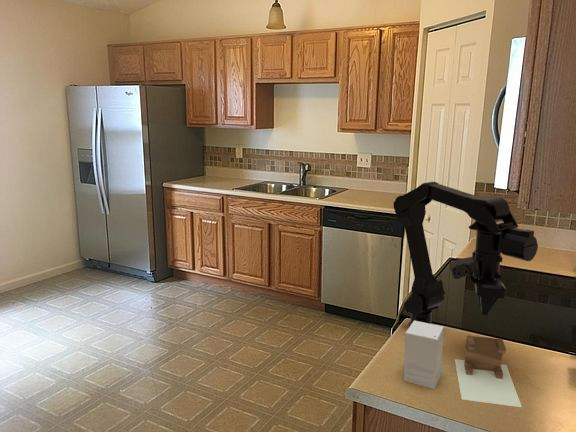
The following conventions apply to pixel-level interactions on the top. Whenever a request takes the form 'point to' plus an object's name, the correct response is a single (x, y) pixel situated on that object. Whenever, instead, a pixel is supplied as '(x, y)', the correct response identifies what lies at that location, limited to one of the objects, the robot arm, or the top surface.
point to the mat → (487, 386)
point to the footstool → (484, 355)
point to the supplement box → (423, 354)
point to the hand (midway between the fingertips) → (482, 310)
